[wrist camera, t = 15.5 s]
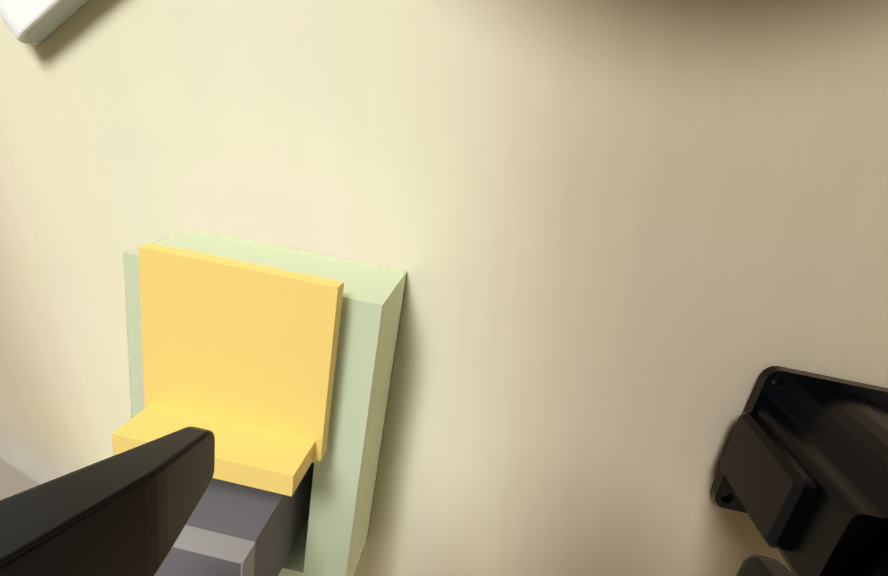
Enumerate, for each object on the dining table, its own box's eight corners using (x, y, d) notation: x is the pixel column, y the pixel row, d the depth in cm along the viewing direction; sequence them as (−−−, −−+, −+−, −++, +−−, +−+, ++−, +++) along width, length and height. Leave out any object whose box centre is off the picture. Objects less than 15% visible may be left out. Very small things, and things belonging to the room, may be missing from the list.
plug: (317, 503, 23) (238, 656, 16) (233, 483, 23) (121, 626, 16) (325, 428, 21) (242, 563, 15) (235, 408, 22) (115, 531, 15)
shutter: (344, 281, 16) (316, 307, 13) (326, 451, 18) (299, 498, 15) (151, 242, 16) (92, 261, 14) (156, 412, 18) (106, 452, 16)
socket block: (406, 271, 20) (382, 305, 16) (367, 538, 24) (340, 613, 21) (195, 229, 20) (123, 252, 17) (195, 497, 25) (138, 563, 21)
